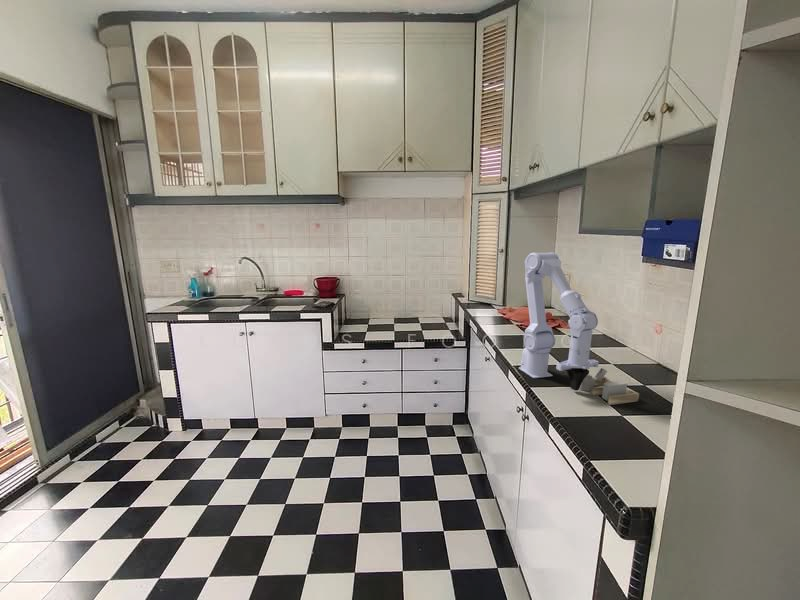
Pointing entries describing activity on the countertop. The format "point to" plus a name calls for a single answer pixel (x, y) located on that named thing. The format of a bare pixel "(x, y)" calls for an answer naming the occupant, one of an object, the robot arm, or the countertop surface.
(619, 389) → the grey block
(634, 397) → the rack
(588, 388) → the lighter
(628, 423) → the countertop surface
